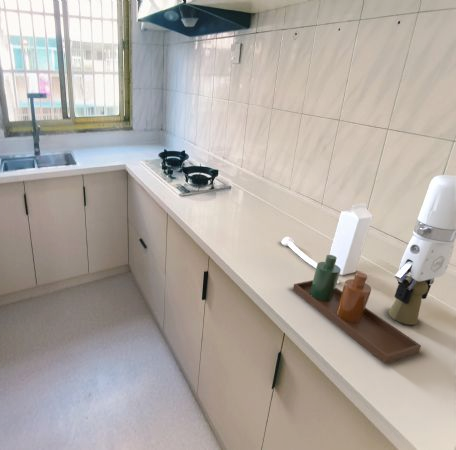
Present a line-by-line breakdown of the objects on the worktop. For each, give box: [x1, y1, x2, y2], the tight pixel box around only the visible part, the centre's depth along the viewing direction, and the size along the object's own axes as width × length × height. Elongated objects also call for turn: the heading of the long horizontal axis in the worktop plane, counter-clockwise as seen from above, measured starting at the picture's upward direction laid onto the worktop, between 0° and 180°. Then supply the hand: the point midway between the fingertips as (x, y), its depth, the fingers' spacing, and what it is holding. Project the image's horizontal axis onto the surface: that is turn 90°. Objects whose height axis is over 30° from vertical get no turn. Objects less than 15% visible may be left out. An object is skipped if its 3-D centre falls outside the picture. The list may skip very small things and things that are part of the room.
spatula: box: [281, 236, 340, 285], centre depth 110 cm, size 28×4×3 cm, turn 15°
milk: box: [329, 202, 374, 276], centre depth 102 cm, size 6×6×22 cm
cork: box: [388, 277, 428, 326], centre depth 83 cm, size 6×6×11 cm
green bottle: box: [310, 254, 341, 302], centre depth 90 cm, size 6×6×12 cm
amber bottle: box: [336, 271, 372, 323], centre depth 82 cm, size 6×6×12 cm
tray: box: [292, 279, 422, 365], centre depth 84 cm, size 10×28×2 cm, turn 20°
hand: (410, 297), depth 83 cm, fingers closed on cork, 5 cm apart
